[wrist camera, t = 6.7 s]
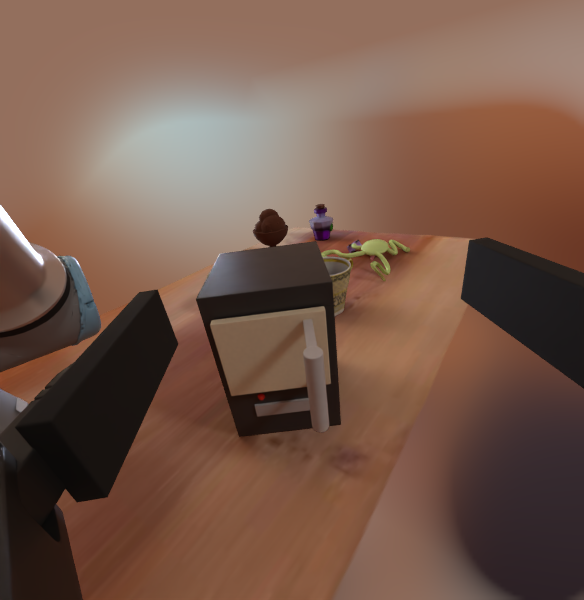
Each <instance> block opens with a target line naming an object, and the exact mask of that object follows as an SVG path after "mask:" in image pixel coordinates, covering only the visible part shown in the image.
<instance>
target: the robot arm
mask: <svg viewBox="0 0 584 600" xmlns="http://www.w3.org/2000/svg"><path fill="white" fill-rule="evenodd" d="M461 299H462V300H463V301H465V302H466V303H467V304H469V305H470V306H472V307H473V308H475V309H476V310H477V311H478V312H480V313H481V314H483V315H484V316H485V317H487V318H488V319H489V320H491V321H492V322H494V323H495V324H496V325H498V326H499V327H500V328H502V329H503V330H504V331H506V332H507V333H508V334H510V335H511V336H513V337H514V338H515V339H517V340H518V341H519V342H521V343H522V344H524V345H525V346H526V347H528V348H529V349H530V350H532V351H533V352H535V353H536V354H537V355H539V356H540V357H541V358H543V359H544V360H546V361H547V362H548V363H549V364H551V365H552V366H554V367H555V368H556V369H558V370H559V371H560V372H562V373H563V374H565V375H566V376H567V377H569V378H570V379H571V380H573V381H574V382H576V383H577V384H578V385H580V386H581V387H582V388H584V273H582V272H579V271H577V270H574V269H571V268H568V267H566V266H563V265H560V264H557V263H555V262H552V261H550V260H547V259H544V258H541V257H539V256H536V255H533V254H531V253H528V252H525V251H522V250H520V249H517V248H514V247H512V246H509V245H506V244H503V243H501V242H498V241H495V240H493V239H490V238H481V239H475V240H469V246H468V253H467V260H466V267H465V274H464V280H463V287H462V294H461ZM100 328H101V320H100V316H99V313H98V310H97V307H96V305H95V303H94V299H93V297H92V293H91V291H90V288H89V285H88V283H87V281H86V278H85V276H84V274H83V272H82V269H81V267H80V265H79V263H78V262H77V260H76V259H75V258H73V257H71V256H57V257H56V256H55V254H53V253H52V252H51V251H49V250H48V249H46V248H44V247H42V246H39V245H36V244H33V243H29V242H27V241H26V239H25V238H24V236H23V235H22V233H21V232H20V231H19V230H18V228H17V227H16V226H15V224H14V223H13V221H12V220H11V219H10V217H9V216H8V215H7V213H6V212H5V211H4V209H3V208H2V206H1V205H0V372H2V371H5V370H7V369H10V368H13V367H15V366H18V365H21V364H23V363H26V362H28V361H31V360H34V359H36V358H39V357H42V356H44V355H47V354H49V353H52V352H55V351H57V350H60V349H63V348H65V347H68V346H70V345H72V346H74V345H77V344H79V343H80V342H81V341H83V340H85V339H87V338H90V337H92V336H94V335H96V334H97V333H98V332H99V331H100ZM177 346H178V342H177V339H176V337H175V334H174V331H173V329H172V326H171V324H170V321H169V318H168V316H167V313H166V311H165V308H164V305H163V303H162V300H161V298H160V295H159V292H158V290H152V291H146V292H139V293H138V294H137V295H136V296H135V297H134V298H133V300H132V301H131V302H130V303H129V304H128V305H127V306H126V307H125V308H124V309H123V310H122V311H121V312H120V314H119V315H118V316H117V317H116V318H115V319H114V320H113V321H112V322H111V323H110V324H109V325H108V327H107V328H106V329H105V330H104V331H103V332H102V333H101V334H100V335H99V336H98V337H97V338H96V340H95V341H94V342H93V343H92V344H91V345H90V346H89V347H88V348H87V349H86V350H85V351H84V353H83V354H82V355H81V356H80V357H79V358H78V359H77V360H76V361H75V362H74V363H73V364H71V365H70V366H68V367H67V368H66V369H64V370H63V371H61V372H60V373H59V374H57V375H56V376H55V377H54V378H53V379H52V380H51V381H50V382H49V384H48V385H47V386H46V387H45V390H42V391H41V392H40V393H39V394H38V395H37V396H36V397H35V398H34V399H35V400H34V401H31V402H30V403H29V404H28V403H27V402H25V401H23V400H22V399H20V398H18V397H15V396H13V395H11V394H9V393H7V392H5V391H3V390H1V389H0V600H83V599H82V594H81V590H80V586H79V581H78V577H77V573H76V568H75V564H74V559H73V555H72V551H71V546H70V542H69V538H68V533H67V529H66V525H65V520H64V516H63V512H62V511H61V509H60V508H59V507H58V506H57V504H56V503H57V501H58V500H59V498H60V496H61V495H62V493H63V491H64V490H65V489H66V490H67V491H68V492H69V493H70V495H71V496H72V497H73V498H74V499H75V501H76V502H82V501H88V500H94V499H100V498H106V497H108V495H109V493H110V490H111V488H112V486H113V484H114V482H115V480H116V477H117V475H118V473H119V471H120V469H121V467H122V465H123V462H124V460H125V458H126V456H127V454H128V452H129V449H130V447H131V445H132V443H133V441H134V439H135V436H136V434H137V432H138V430H139V428H140V426H141V423H142V421H143V419H144V417H145V415H146V413H147V411H148V408H149V406H150V404H151V402H152V400H153V398H154V395H155V393H156V391H157V389H158V387H159V385H160V382H161V380H162V378H163V376H164V374H165V372H166V369H167V367H168V365H169V363H170V361H171V359H172V357H173V354H174V352H175V350H176V348H177Z"/></svg>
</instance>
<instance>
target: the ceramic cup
mask: <svg viewBox="0 0 584 600" xmlns="http://www.w3.org/2000/svg"><path fill="white" fill-rule="evenodd" d="M323 260H324V262H325V265H326V267H327V270H328V272H329V274H330V277H331V279H332V282H333V298H334V315H335V316H337V315H338V314H340V313H342V312H343V311H344V305H345V299H346V292H347V287H348V283H349V277H350V271H351V269H352V267H353V261H352V259H350V258H346V259H343V258H339V257H323ZM349 261H350V262H349Z"/></svg>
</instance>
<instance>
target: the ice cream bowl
mask: <svg viewBox="0 0 584 600" xmlns="http://www.w3.org/2000/svg"><path fill="white" fill-rule="evenodd" d="M259 220H260V221H259V222H258V223H257V224H256V225H255V229H254V230H253V233H254V236H255V237H256V238H257V239H258V240H259V241H260V242H261V243H263V244H265V245H268V246H270V247H276V245H277V244H279V243H280V242H281V241H282V240H283V239H284V237H285V236H286V234H287V231H288V226H287V225H285V222H284V220H283V219H282V218H281V217H279V215H278V213H277V212H276V211H275V210H272V209H266V210H264V211H262V213H261V215H260V217H259Z"/></svg>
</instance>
